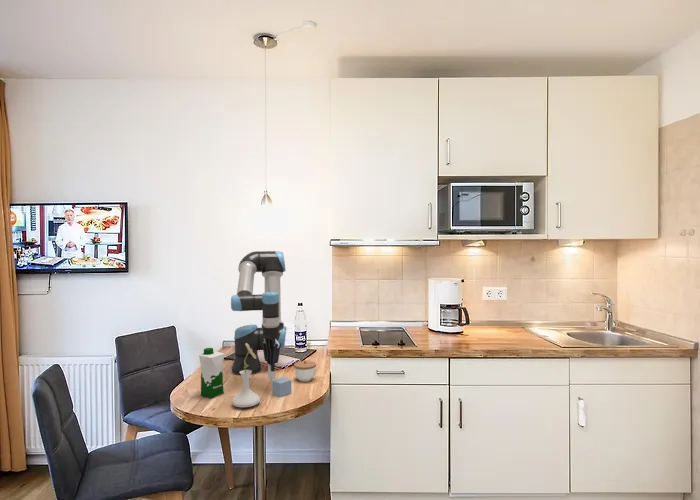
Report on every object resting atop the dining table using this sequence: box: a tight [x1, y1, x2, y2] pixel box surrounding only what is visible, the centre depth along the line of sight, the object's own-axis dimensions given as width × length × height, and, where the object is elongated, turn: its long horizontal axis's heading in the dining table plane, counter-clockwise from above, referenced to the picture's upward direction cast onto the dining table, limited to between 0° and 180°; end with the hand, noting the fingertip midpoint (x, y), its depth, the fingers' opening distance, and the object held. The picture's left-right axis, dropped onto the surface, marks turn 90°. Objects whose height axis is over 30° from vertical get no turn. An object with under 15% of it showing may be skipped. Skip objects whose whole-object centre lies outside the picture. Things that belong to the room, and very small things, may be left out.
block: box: [271, 376, 292, 398], centre depth 183 cm, size 6×6×6 cm
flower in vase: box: [231, 343, 261, 408], centre depth 171 cm, size 13×11×25 cm
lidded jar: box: [293, 360, 317, 383], centre depth 201 cm, size 11×11×9 cm
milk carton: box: [198, 347, 225, 399], centre depth 182 cm, size 9×9×20 cm
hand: (271, 377), depth 188 cm, fingers closed
